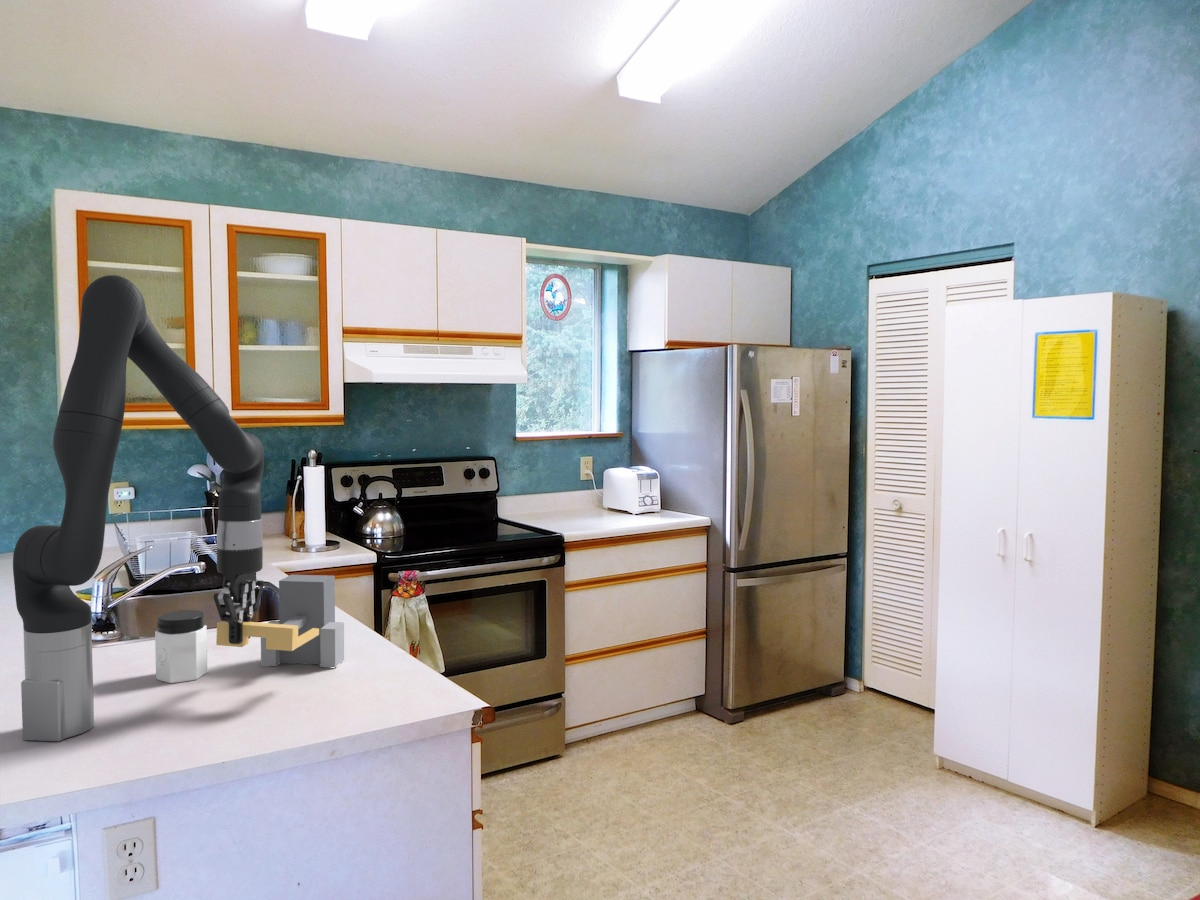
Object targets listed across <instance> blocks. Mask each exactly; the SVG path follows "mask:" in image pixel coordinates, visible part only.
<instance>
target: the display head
mask: <svg viewBox="0 0 1200 900" xmlns="http://www.w3.org/2000/svg"><path fill="white" fill-rule="evenodd" d="M335 577H336V576H335V575H327V574H326V575H325V574H324V575H322V574H321V575H318V574H316V575H315V574H290V575H288V576H285V578H282V579H280V580H279V581H278V599H279V600H278V605H279V606H278V609H279V611H278V613H279V614H278V617H279V620H273V619H272V620H270V621H268V622H267V623H271V624H285V625H298V636H300V635H302V634H304V633H305V632H307V631H309V630H311V629H312V628H319V635H318V636H316V637H314V638H313V639H311V640H309V641H308V642H306V643H305V644H303V645H301V646H300V647H298V648H296V649H295V650H293V651H285V650H272V649H266V638H262V637H260V664H261V667H270V666H276V665H277V666H278V664H279V663H303V664H302V665H312V664H321V665H320V668H321V667H336V666H337V665H338V664H339V663H341V662H342V661H343V660H344V661H345V622H344V621H343V622H339V621H336V603H335V602H336V601H335V600H336V596H335V595H336V591H335V590H336V587H335V586H336V584H335V582H336V581H335V579H336V578H335ZM344 661H343V662H344ZM343 662H342V663H343ZM304 663H306V664H304ZM342 663H341V664H342ZM279 665H280V664H279ZM277 666H276V667H277ZM336 668H337V667H336Z"/></svg>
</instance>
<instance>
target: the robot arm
mask: <svg viewBox="0 0 1200 900" xmlns="http://www.w3.org/2000/svg"><path fill="white" fill-rule="evenodd" d="M82 295H83V296H82V299H81V311H80V322H79V323H80V325H79V331H78V339H77V340H78V342H77V347H76V348H77V349H76V353H75V357H74V359H73V362H72V363H73V364H72V366H71V369H70V372H69V374H68V378H67V382H66V385H65V388H64V391H63V394H62V395H63V396H62V399H61V403H60V405H59V410H58V413H57V414H58V415H57V419H56V424H55V428H54V433H53V437H52V438H53V440H52V447H53V452H54V455H55V459H56V463H57V465H58V468H59V471H60V474H61V476H62V481H63V484H64V489H65V501H64V502H65V503H64V509H63V515H62V519H61V523H60V525H59V526H58V525H37V526H34V527H30V528H29V529H26V530H25V531H24V532H23V533H21V535H20V536H19V538H18V540H17V542H16V544H15V546H14V550H13V555H12V556H13V557H12V572H13V585H14V595H15V604H16V605H15V606H16V610H17V611H18V614H19V616H20V618H21V619H22V624H23V626H22V627H23V647H24V648H23V652H24V653H23V654H24V655H23V656H24V657H23V658H24V659H23V660H24V661H23V662H24V679H23V680H22V681H20V682H21V683H20V692H21V721H22V723H21V724H22V740H24V741H43V742H44V741H49V742H60V741H63V740H65V739H68V738H71V737H75V736H77V735H78V736H79V735H81V734H83V733H85V732H87V731H89V730H91V729H92V728H93V727H94V725H95V704H94V703H95V702H94V701H95V700H94V673H93V672H94V671H93V670H94V669H93V668H94V667H93V666H94V665H93V634H92V632H93V631H92V629H93V627H92V625H93V624H92V609H91V606H90V604H89V603H87V602H86V601H84V600H83V599H81V598H80V597H78V596H77V595H76V594H75V592H73V590H72V589H71V587H73V586H74V587H75V586H81V585H83V584H85V583H87V582H88V581H90V580H91V579H92V578H93V577H94V576H95V574H96V572H97V570H98V569H99V565H100V563H101V559H102V557H103V556H102V555H103V549H104V542H105V533H106V532H105V531H106V529H105V528H106V521H107V520H106V519H107V508H108V498H109V494H110V493H109V492H110V487H111V483H112V482H111V481H112V475H113V469H114V465H115V458H116V455H117V451H118V447H119V443H120V440H121V439H120V438H121V435H122V428H123V423H124V416H125V407H126V397H127V396H126V393H127V363H128V359H129V360H130V361H132V363H133V364H135V366H136V367H138V368H139V370H140V371H141V372H142V373H143V374H144V375H145V376H146V377H147V378H148V380H149V381H150V382H151V383H152V385H153V386H154V387H155V388H156V390H158V391H159V393H160V394H161V395H162V396H163V398H164V399H165V400H166V402H168V403H169V405H170V406H171V407H172V408H173V409H174V411H175V412H176V413H177V414H178V416H180V417H181V419H182V420H183V421H184V423H186V425H188V427H189V428H190V429H191V430H193V432H194V433H195V434H196V436H197V438H198V439H199V441H200V442H201V444H202V445H203V447H204V449H205V450H206V452H207V453H208V454H209V455H210V457H211V458H212V459H213V461H214V462H215V464H217V465H218V466H219V467H221V468H222V469H223V477H222V478H223V479H222V480H223V483H222V487H221V489H220V491H219V493H218V499H217V500H218V505H217V506H218V507H217V508H218V510H217V511H218V512H217V519H218V521H217V528H216V570H217V572H218V573H219V574H222V575H223V581H222V590H221V591H220V592H215V593H214V594H213V600H214V604H215V607H216V609H217V612H218V616H219V619H220V621H225V622H228V623H229V643H231V644H240V643H242V641H243V622H251V619H252V618H253V617H254V613H257V612H258V611H259V607H260V602H261V598H262V594H263V589H264V585H265V582H264V581H265V580H261V579H260V580H259V579H257V574H256V573H258V572H260V571H262V570H263V567H264V566H263V564H264V563H263V562H264V561H263V559H264V558H263V557H264V556H263V555H264V554H263V553H264V552H263V546H264V542H263V539H264V537H263V535H264V533H263V524H262V497H261V492H262V491H261V489H262V483H263V474H264V469H265V468H264V467H265V466H264V465H265V450H264V449H265V448H264V445H263V443H262V441H261V440H260V439H259V437H258V436H256V435H255V434H253V433H250V432H246V431H244V430H243V429H242V428H241V427H240V426H239V424H238V423H237V422H236V421H235V419H234V418H233V417H232V416H231V415H230V410H229V407H228V406H227V404H225V402H224V401H223V400H222V399H221V397H220V396H219V395H218V394H217V393H216V391H215V390H214V389H213V388H212V387H211V386H210V385H209V384H208V382H207V381H206V380H205V379H204V378H203V377H202V376H201V375H200V374H199V373H198V372H197V371H196V370H195V369H193V368H192V367H191V366H190V365H189V364H188V363H187V362H186V361H184V359H182V358H181V357H180V356H179V355H178V354H177V353H176V352H175V351H174V350H173V349H172V348H171V347H170V346H169V344H168V343H166V341H165V340H164V338H163V337H162V336H161V335H160V333H159V332H158V330H157V328H156V327H155V326H154V324H153V322H152V320H151V319H150V317H149V315H148V314H147V307H146V303H145V299H144V296H143V294H142V293H141V290H140V289H139V288H138V287H137V285H135V284H134V283H133V282H132V281H131V280H129V279H128V278H126V277H124V276H120V275H117V274H116V275H115V274H110V275H104V276H100V277H98V278H96V279H95V280H93V281H92V282H91V283H90V284H89V285H88V286H87V287H86V289H85V290H84V292H83V294H82ZM242 621H243V622H242ZM248 638H249V639H251V637H249V636H248Z"/></svg>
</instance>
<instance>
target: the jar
mask: <svg viewBox="0 0 1200 900" xmlns="http://www.w3.org/2000/svg"><path fill="white" fill-rule="evenodd" d="M156 627H157V630H155V632H154V639H155V645H154V649H155V651H154V652H155V678H156V680H158V681H161V682H165V683H168V684H176V683H184V682H191V681H197V680H198V679H200V678H201V677H202V676H204V675H205V674H207V673H208V671H209V670H208V628H207V627H208V625H206V624H205V613H204V612H203V611H201V610H197V609H182V610H174V611H168V612H163V613H162V614H160V615H158V616H157V619H156Z"/></svg>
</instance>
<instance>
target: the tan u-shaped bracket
mask: <svg viewBox="0 0 1200 900" xmlns="http://www.w3.org/2000/svg"><path fill="white" fill-rule="evenodd" d="M242 622H243V621H242ZM318 635H319V628H312V629H311V630H309V631H307V632H305V633H304V634H302V635H300V636H298V625H285V624H271V623H268V622H256V621H250V622H243V641H242V643H240V644H231V643H229V623H228V622H225V621H221V620H220V621H218V622H216V643H215V644H216V646H224V647H236V648H243V647H245V646H247V645H249V642H250V641H249V639H250V638H261V637H262V638H266V649H272V650H285V651H293V650H295V649H296V648H298V647H300V646H301V645H303V644H305V643H306V642H308V641H309V640H311V639H313V638H314V637H316V636H318ZM248 636H249V637H250V638H248Z"/></svg>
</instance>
